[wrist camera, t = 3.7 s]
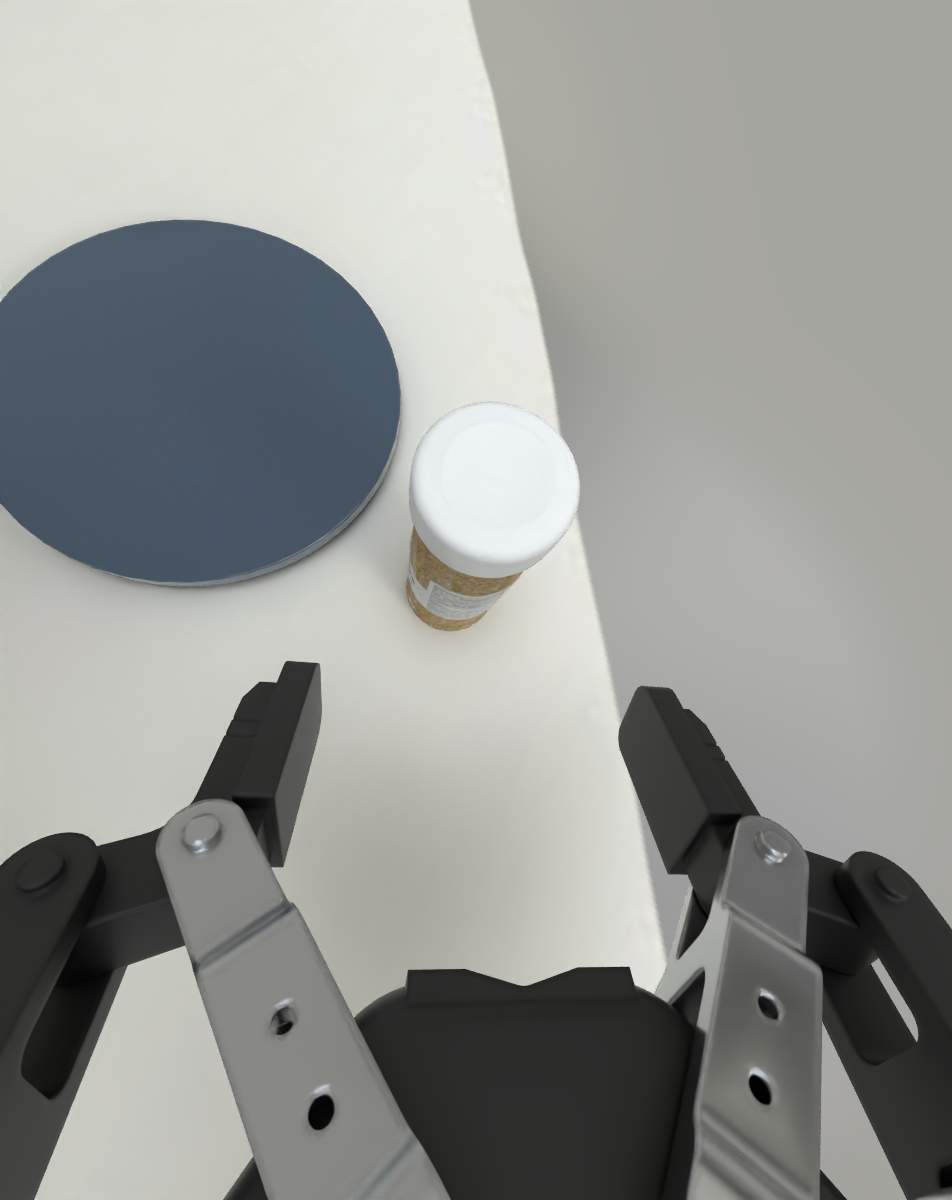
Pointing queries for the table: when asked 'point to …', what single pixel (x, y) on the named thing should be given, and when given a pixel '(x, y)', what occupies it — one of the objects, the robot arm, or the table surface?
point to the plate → (191, 402)
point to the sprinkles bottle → (484, 508)
